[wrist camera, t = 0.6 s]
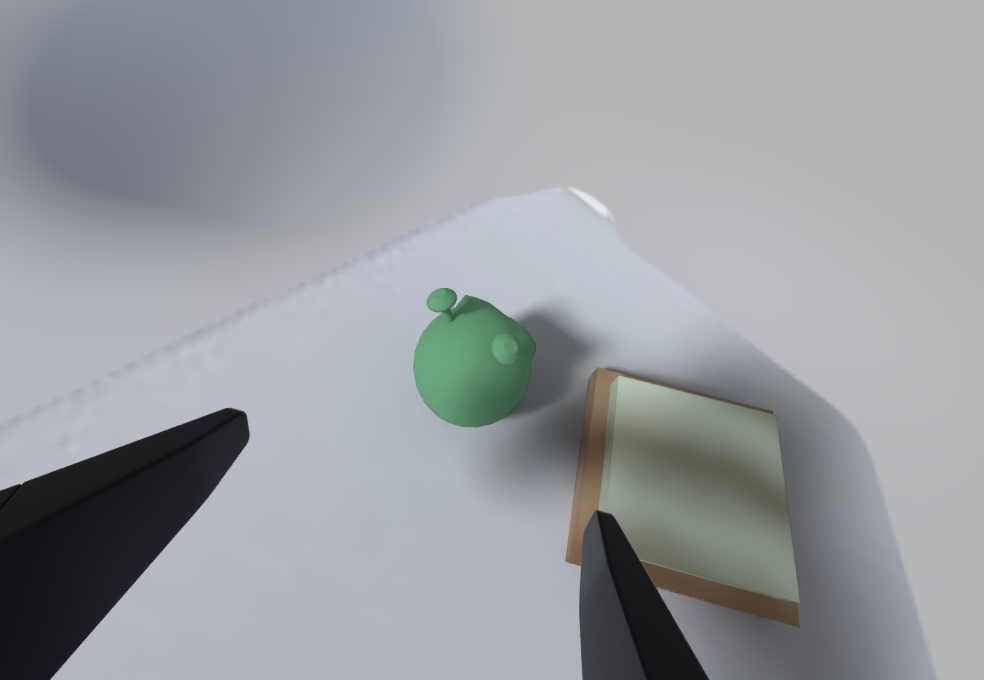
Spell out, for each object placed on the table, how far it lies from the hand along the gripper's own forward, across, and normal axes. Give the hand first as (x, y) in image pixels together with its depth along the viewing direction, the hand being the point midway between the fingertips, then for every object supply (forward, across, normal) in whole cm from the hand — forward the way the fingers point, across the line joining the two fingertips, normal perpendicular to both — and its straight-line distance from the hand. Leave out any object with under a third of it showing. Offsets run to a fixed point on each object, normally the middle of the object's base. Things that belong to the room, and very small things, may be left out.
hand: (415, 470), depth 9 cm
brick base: (+13, -14, +10) cm, 21 cm away
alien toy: (+15, 0, +9) cm, 18 cm away
